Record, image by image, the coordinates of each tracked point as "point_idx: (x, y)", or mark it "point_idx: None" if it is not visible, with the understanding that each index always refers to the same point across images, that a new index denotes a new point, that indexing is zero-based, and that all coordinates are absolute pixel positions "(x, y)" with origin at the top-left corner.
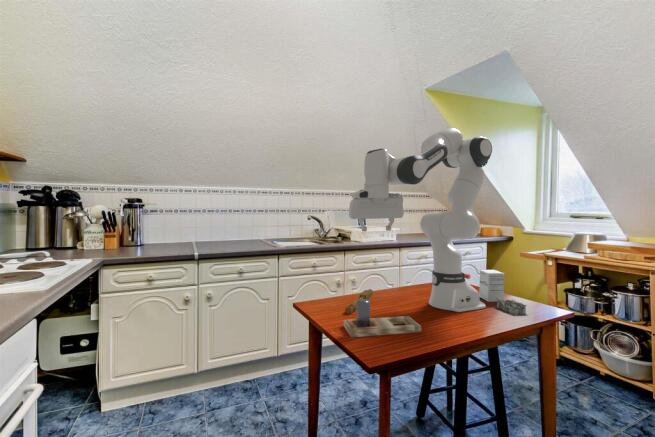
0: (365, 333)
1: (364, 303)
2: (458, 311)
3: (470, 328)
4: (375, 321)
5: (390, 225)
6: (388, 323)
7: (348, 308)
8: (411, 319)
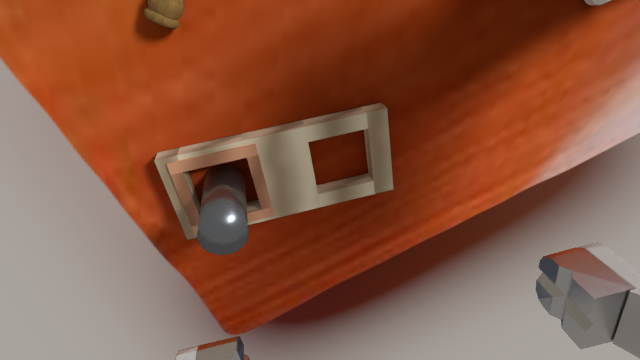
0: None
1: (225, 253)
2: (591, 4)
3: (525, 148)
4: (266, 165)
5: (628, 345)
6: (304, 178)
7: (160, 24)
8: (385, 140)
